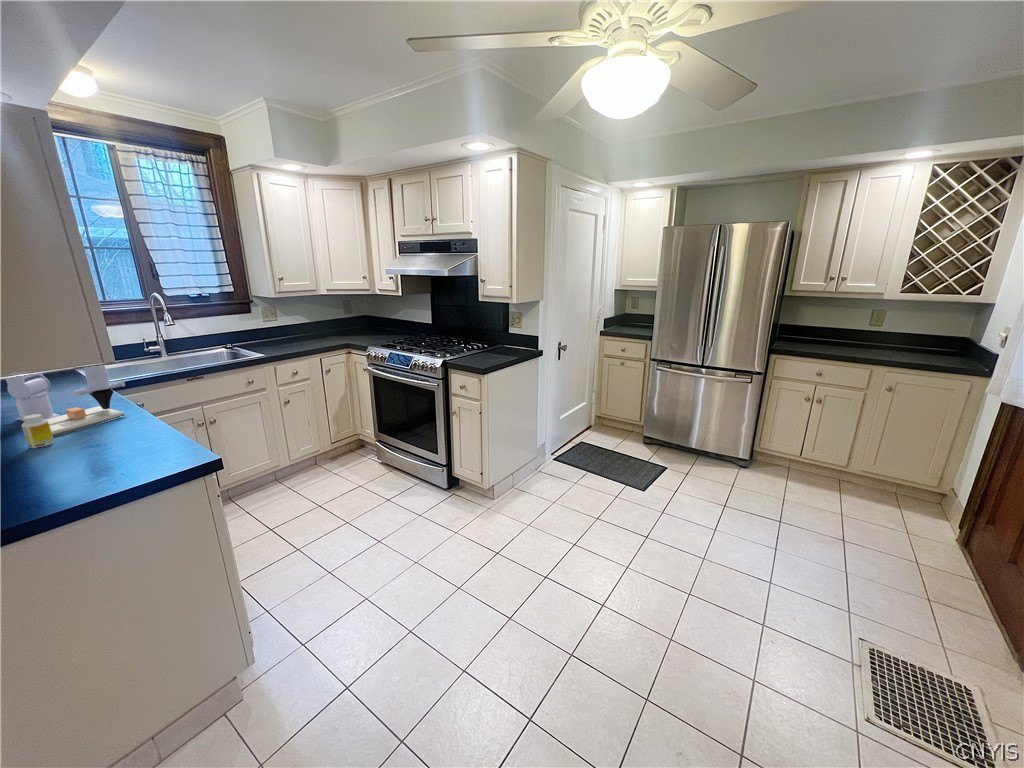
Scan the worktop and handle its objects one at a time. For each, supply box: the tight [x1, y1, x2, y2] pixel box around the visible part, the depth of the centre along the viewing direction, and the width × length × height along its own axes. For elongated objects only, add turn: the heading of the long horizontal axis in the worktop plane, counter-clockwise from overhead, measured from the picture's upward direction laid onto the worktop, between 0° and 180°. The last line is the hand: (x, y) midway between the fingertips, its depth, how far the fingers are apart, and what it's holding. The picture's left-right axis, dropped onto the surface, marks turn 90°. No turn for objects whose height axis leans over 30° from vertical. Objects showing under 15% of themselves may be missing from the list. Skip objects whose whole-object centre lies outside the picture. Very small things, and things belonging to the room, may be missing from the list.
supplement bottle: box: [21, 414, 55, 449], centre depth 130 cm, size 6×6×10 cm
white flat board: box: [45, 405, 126, 437], centre depth 149 cm, size 16×20×2 cm
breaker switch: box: [65, 406, 86, 419], centre depth 148 cm, size 5×3×4 cm, turn 70°
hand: (106, 408), depth 156 cm, fingers closed
